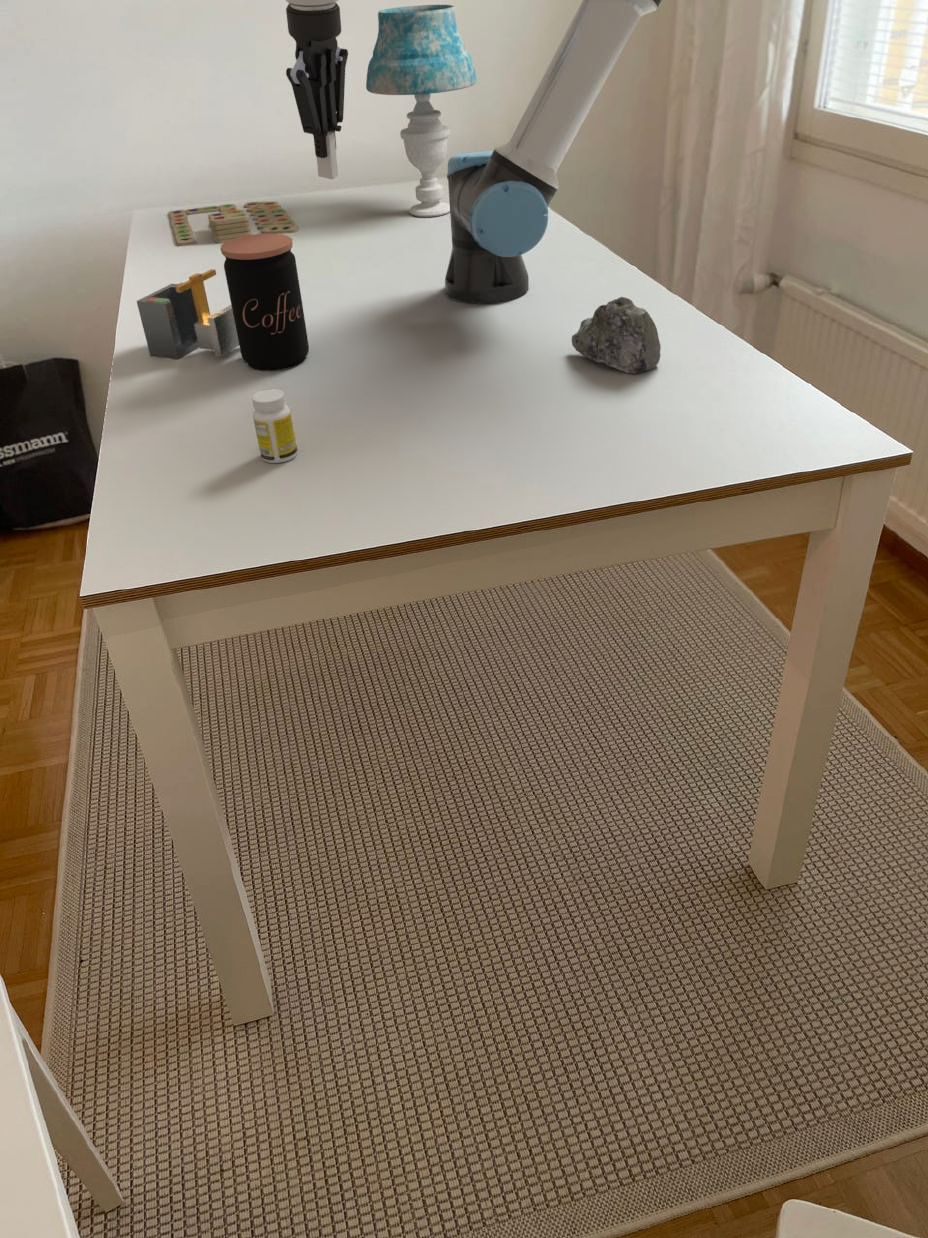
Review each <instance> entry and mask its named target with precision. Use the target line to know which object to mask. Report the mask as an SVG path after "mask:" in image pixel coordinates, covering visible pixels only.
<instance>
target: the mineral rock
mask: <svg viewBox="0 0 928 1238" xmlns="http://www.w3.org/2000/svg"><path fill="white" fill-rule="evenodd" d="M571 345H572V347H573V348H574V350H575V351H576V352H577V353H579V354H581V355H582V357H583V356H584V357H585V358H587V359H590V360H592V361H594V362H596V363H600V364H601V363H603V364H605V366H608V367H611V368H613V369H616V370H618V371H622V372H625V373H627V374H628V373H629V374H631V373H632V374H634V375H637V374H640V373H642V372H643V371H652V370H653V369H654V368H655V367H656V366H657V365H658V364H659V362H660V359H661V350H662V349H661V342H660V338H659V333H658V329H657V326H656V323H655V321H654V320H653V317H651V315H650V314H649V312H648V311H647V310H646V309H645V308H643V307H638V306H636V305H635V303H634V302H633V300H631V299H630V298H628V297H624V296H619V297H618V298H616V299H613V300H611V301H608V302H607V303H606V304H602V305H600V306H598V307H597V308H596V309H595V311H594V313H593V315H592V317H588V318H585V319H583V320H582V321H581V322H580V326H579V329H578V331H576V332H574V334H572V336H571Z"/></svg>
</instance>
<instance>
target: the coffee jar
mask: <svg viewBox="0 0 928 1238" xmlns="http://www.w3.org/2000/svg"><path fill="white" fill-rule="evenodd" d="M292 248H293V238H292V237H291V236H289V235H286V234H284V233H279V234H274V233H264V234H262V233H256V234H255V233H254V234H252V235H247V236H242V237H238V238H234V239H231V240H229V241H227V242H225V243H223V244H220V252H221V255H223V257H224V258H225V260H224V262H223V263H224V264H223V268H224V274H225V279H226V284H227V290H228V295H229V299H230V300H229V301H230V305H232V310H233V316H234V321H235V326H236V331H237V336H238V341H239V346H238V347H239V350H240V355H241V356H240V357H241V358H242V360H243V361H244V362H245V364H246V365H248V367H249V368H251V369H252V370H256V371H262V372H276V371H282V370H286V369H291V368H294V367H296V366H298V365H300V364H302V363H303V362H304V361H305V360H306V359H307V356H308V354H309V353H310V352H309V351H310V345H309V339H308V333H307V332H308V331H307V326H306V320H305V312H304V305H303V300H302V293H301V292H302V291H301V288H300V287H301V286H300V280H299V275H298V267H297V261H296V256H295V254H294V253H293V252H292V251H291V250H292Z"/></svg>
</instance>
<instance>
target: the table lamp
mask: <svg viewBox="0 0 928 1238" xmlns="http://www.w3.org/2000/svg"><path fill="white" fill-rule="evenodd" d="M377 22H378V33H377V38H376V42H375V45H374V48H373V51H372V57H371V58H370V60H369V62H368V66H367V73H366V82H365V89H366V90H367V92H369V93H371V94H375V95H384V96H413V95H414V99H415V101H416V103H415V105H414V107H413V110H412V111H410V112H408V113H406V118H407V119H408V120H409V122H408V124H407V127H405V128H403V129H401V130H400V133H399V135H400V139H401V140H403V143H404V144H403V145H404V150H405V154H406V158H407V159H408V161H409V163H411V165H412V166H413V167H414V168H416V169H417V170H419V172H420V174H421V178H420V179H419V185H416V187H415V198H416V200H417V201H419V202H420V203H417V204H415V205H412V206H411V207H410V208H409V213H410V214H411V215H413V216H414V217H419V218H433V217H435V218H436V217H439V216H444V215H447V214H450V203H448V202H444V201H443V202H442V201H441V200H442V199H443V198H444V186H443V185H442V184H441V183H439V182H438V178H437V177H436V176H435V175H436V171H437V169H438V167H440V166H441V165H443V163H444V162H445V159H446V156H447V151H448V141H449V139H448V137H449V136H450V135H451V128H450V127H449V126H446V125H442V122H441V120H440V118H439V117H441V115H442V112H441V111H440V110H438V109H434V107H433V105H432V104H431V101H430V98H431V94H441V93H448V92H453V91H458V90H463V89H467V88H469V87H473V86H474V85H476V83H478V82H477V81H478V78H477V74H476V72H477V71H476V69H475V65H474V62H473V59H472V56H471V53H469V51H468V50H467V49H466V44H465V43H464V40H463V38H462V36H461V35H460V32H459V29H458V27H457V21H456V9H455V7H454V5H451V4H425V5H423V4H422V5H420V4H419V5H409V6H399V7H391V8H384V9H380V10H378V12H377Z"/></svg>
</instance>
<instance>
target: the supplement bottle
mask: <svg viewBox="0 0 928 1238" xmlns="http://www.w3.org/2000/svg"><path fill="white" fill-rule="evenodd" d="M286 404H287V403H286V398H285V394H284V391H282V390H280V389H274V388H271V389H265V390H260V391H258V392H256V393H253V396H252V406H253V408H254V410H253V412H252V419H253V425H254V429H255V433H256V439H257V443H258V448H259V452H260V458H261V460H263V462H266V463H268V464H269V463H270V464H281V463H286V462H289V461H291V460H293V459H294V458H296V457H297V455H298V446H297V441H296V436H295V435H296V434H295V429H294V425H293V420H292V413H291V410H290V407H289V406H287V405H286Z"/></svg>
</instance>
